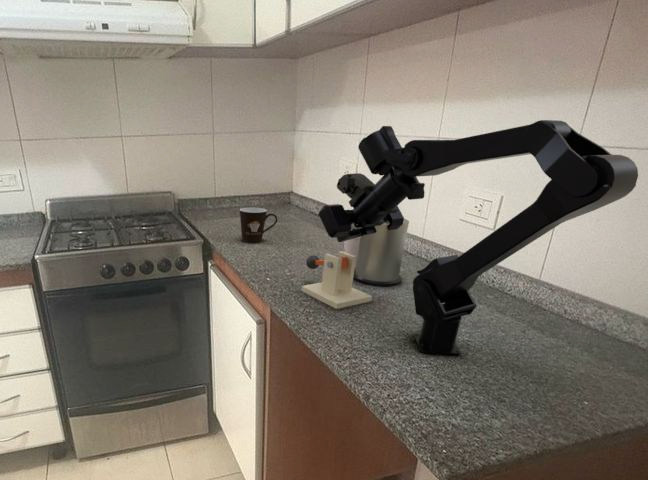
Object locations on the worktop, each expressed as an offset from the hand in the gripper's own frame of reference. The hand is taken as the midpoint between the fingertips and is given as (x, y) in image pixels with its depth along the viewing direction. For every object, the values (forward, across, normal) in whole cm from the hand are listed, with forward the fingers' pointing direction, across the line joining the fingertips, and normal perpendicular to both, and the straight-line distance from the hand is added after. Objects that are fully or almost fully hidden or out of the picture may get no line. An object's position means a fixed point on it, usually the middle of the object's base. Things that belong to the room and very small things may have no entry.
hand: (338, 240), depth 95 cm
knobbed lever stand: (+8, 0, +10) cm, 13 cm away
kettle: (+12, -17, +6) cm, 22 cm away
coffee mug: (+44, -10, -26) cm, 52 cm away
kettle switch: (+8, 0, +3) cm, 8 cm away
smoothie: (+19, -19, -1) cm, 27 cm away
